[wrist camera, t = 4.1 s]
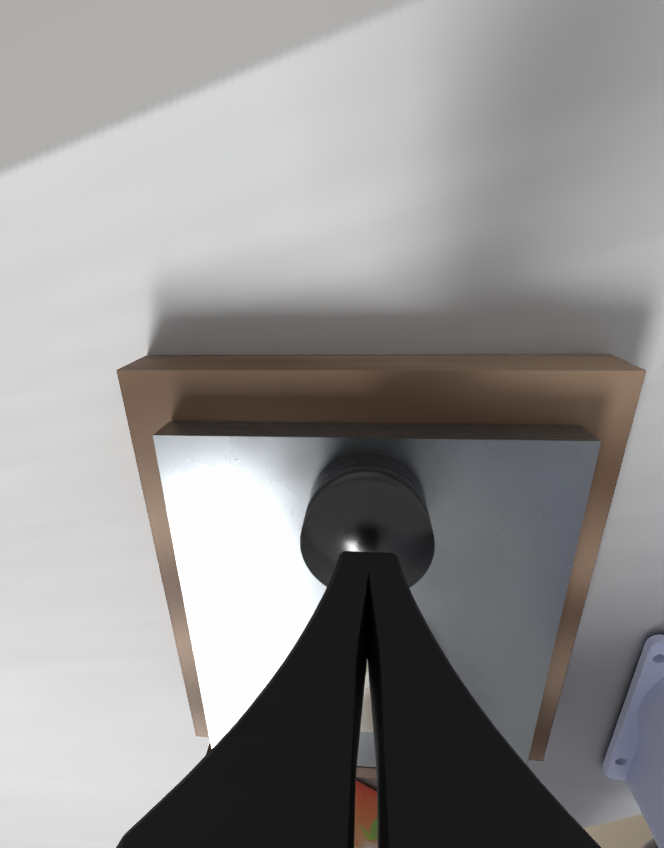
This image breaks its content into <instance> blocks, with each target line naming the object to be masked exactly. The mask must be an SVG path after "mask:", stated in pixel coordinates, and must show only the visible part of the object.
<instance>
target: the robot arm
mask: <svg viewBox="0 0 664 848" xmlns="http://www.w3.org/2000/svg"><path fill="white" fill-rule="evenodd" d="M367 660H368V673H369V685H370V697H371V709H372V722H373V734H374V746H375V758H376V776H377V841H378V848H601V847H600V846H599V845H598V844H597V843H596V842H595V841H594V840H593V839H592V837H591V836H590V835H589V834H588V833H587V832H586V831H585V830H584V829H583V828H582V827H581V826H580V825H579V824H578V823H577V822H576V821H575V819H574V818H573V817H572V816H571V815H570V814H569V813H568V812H567V811H566V810H565V808H564V807H563V806H562V805H561V804H560V803H559V802H558V801H557V800H556V798H555V797H554V796H553V795H552V794H551V793H550V792H549V791H548V790H547V788H546V787H545V786H544V785H543V784H542V783H541V782H540V781H539V780H538V778H537V777H536V776H535V775H534V773H533V772H532V771H531V770H530V769H529V767H528V766H527V765H526V764H525V763H524V761H523V760H522V759H521V758H520V757H519V755H518V754H517V753H516V752H515V750H514V749H513V748H512V747H511V746H510V744H509V743H508V742H507V741H506V740H505V738H504V737H503V736H502V735H501V734H500V732H499V731H498V730H497V729H496V727H495V726H494V725H493V723H492V722H491V721H490V719H489V718H488V717H487V715H486V714H485V713H484V711H483V710H482V709H481V707H480V706H479V705H478V703H477V702H476V701H475V699H474V698H473V696H472V695H471V693H470V692H469V691H468V689H467V688H466V686H465V685H464V683H463V682H462V681H461V679H460V678H459V676H458V674H457V673H456V671H455V670H454V668H453V667H452V665H451V664H450V662H449V661H448V659H447V657H446V656H445V654H444V652H443V651H442V649H441V647H440V646H439V644H438V642H437V641H436V639H435V637H434V636H433V634H432V632H431V630H430V628H429V627H428V625H427V623H426V621H425V619H424V617H423V615H422V613H421V611H420V609H419V608H418V606H417V604H416V602H415V599H414V597H413V595H412V593H411V591H410V589H409V586H408V584H407V582H406V579H405V577H404V574H403V572H402V569H401V566H400V563H399V559H398V556H396V555H395V554H394V553H384V552H357V551H343V552H342V553H341V554H339V558H338V561H337V564H336V567H335V570H334V572H333V575H332V577H331V580H330V582H329V584H328V586H327V588H326V590H325V592H324V594H323V596H322V598H321V600H320V602H319V604H318V606H317V608H316V610H315V612H314V613H313V615H312V617H311V619H310V621H309V622H308V624H307V625H306V627H305V629H304V630H303V632H302V634H301V635H300V637H299V639H298V640H297V642H296V643H295V645H294V647H293V648H292V650H291V651H290V653H289V654H288V656H287V657H286V659H285V660H284V662H283V663H282V664H281V666H280V667H279V669H278V670H277V671H276V673H275V674H274V675H273V677H272V678H271V680H270V681H269V682H268V684H267V685H266V686H265V688H264V689H263V690H262V691H261V693H260V694H259V695H258V696H257V698H256V699H255V700H254V701H253V703H252V704H251V705H250V706H249V708H248V709H247V710H246V711H245V713H244V714H243V715H242V716H241V717H240V718H239V720H238V721H237V722H236V723H235V724H234V725H233V727H232V728H231V729H230V730H229V731H228V732H227V733H226V734H225V735H224V736H223V738H222V739H221V740H220V741H219V742H218V743H217V744H216V745H215V746H214V747H213V748H212V749H211V750H210V751H209V753H208V754H207V755H206V756H205V757H204V758H203V759H202V760H201V761H200V762H199V763H198V764H197V765H196V766H195V768H194V769H193V770H192V771H191V772H190V773H189V774H188V775H187V776H186V777H185V778H184V779H183V780H182V781H181V782H180V783H179V784H178V785H177V786H175V787H174V788H173V789H172V790H171V791H170V792H169V793H168V794H167V795H166V796H165V797H164V798H163V799H162V800H161V801H160V802H159V803H157V804H156V805H155V806H154V807H153V808H152V809H151V810H150V811H149V812H148V813H147V814H146V815H145V816H144V817H143V818H142V819H141V820H139V821H138V822H137V823H136V824H135V825H134V826H133V827H132V828H131V829H130V830H129V831H128V832H127V833H126V834H125V835H124V836H123V837H122V839H121V841H120V842H119V844H118V846H117V847H116V848H354V833H355V791H356V772H357V758H358V748H359V737H360V727H361V717H362V707H363V697H364V687H365V677H366V666H367ZM602 769H603V771H604V774H605V775H606V777H607V778H609V779H612V780H622V781H627V783H628V785H629V787H630V789H631V791H632V793H633V796H634V798H635V800H636V802H637V804H638V806H639V808H640V810H641V812H642V814H643V816H644V818H645V820H646V823H647V825H648V826H649V829H650V831H651V833H652V835H653V837H654V839H655V841H656V843H657V845H658V847H659V848H664V635H654V636H651V637H649V638H648V639H647V641H646V642H645V645H644V648H643V651H642V653H641V656H640V659H639V662H638V665H637V668H636V671H635V673H634V676H633V679H632V682H631V685H630V688H629V690H628V693H627V696H626V699H625V702H624V705H623V708H622V710H621V713H620V716H619V719H618V722H617V725H616V728H615V730H614V733H613V736H612V739H611V742H610V745H609V748H608V750H607V753H606V756H605V759H604V762H603V765H602Z"/></svg>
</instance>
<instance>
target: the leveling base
mask: <svg viewBox="0 0 664 848" xmlns="http://www.w3.org/2000/svg"><path fill="white" fill-rule="evenodd" d="M645 373H646V370H644V369H641V368H639V367H637V366H635V365H632V364H630V363H628V362H626V361H623V360H621V359H619V358H617V357H614V356H612V355H186V356H145V357H143V358H141V359H138V360H136V361H134V362H132V363H130V364H128V365H126V366H124V367H122V368H120V369H118V370H117V374H118V379H119V384H120V388H121V393H122V397H123V402H124V407H125V411H126V416H127V420H128V425H129V430H130V434H131V439H132V443H133V448H134V453H135V457H136V462H137V466H138V471H139V476H140V480H141V485H142V489H143V494H144V499H145V503H146V508H147V513H148V517H149V522H150V526H151V531H152V536H153V540H154V545H155V549H156V554H157V559H158V563H159V568H160V572H161V577H162V582H163V586H164V591H165V595H166V600H167V605H168V609H169V614H170V618H171V623H172V628H173V632H174V637H175V641H176V646H177V651H178V655H179V660H180V664H181V669H182V674H183V678H184V683H185V687H186V692H187V697H188V701H189V706H190V710H191V715H192V720H193V724H194V729H195V733H196V736H200V737H209V733H208V727H207V722H206V717H205V711H204V706H203V701H202V695H201V690H200V685H199V679H198V674H197V669H196V663H195V658H194V653H193V647H192V642H191V637H190V631H189V626H188V621H187V615H186V610H185V605H184V599H183V594H182V589H181V583H180V578H179V573H178V567H177V562H176V557H175V551H174V546H173V541H172V536H171V530H170V525H169V520H168V514H167V509H166V504H165V498H164V493H163V488H162V482H161V477H160V472H159V466H158V461H157V456H156V450H155V445H154V440H153V435H154V434H155V433H156V432H157V431H158V430H160V429H161V428H162V427H163V426H164V425H166V424H167V423H168V422H169V421H214V422H310V423H405V424H500V425H582V426H583V427H584V428H585V429H587V430H588V431H589V432H590V433H592V434H593V435H594V436H595V437H597V438H598V439H599V440H600V441H601V444H600V449H599V453H598V457H597V462H596V466H595V470H594V475H593V479H592V483H591V488H590V492H589V497H588V501H587V505H586V510H585V514H584V518H583V523H582V527H581V531H580V536H579V540H578V544H577V549H576V553H575V557H574V562H573V566H572V571H571V575H570V579H569V584H568V588H567V592H566V597H565V601H564V605H563V610H562V614H561V618H560V623H559V627H558V631H557V636H556V640H555V645H554V649H553V653H552V658H551V662H550V666H549V671H548V675H547V679H546V684H545V688H544V692H543V697H542V701H541V706H540V710H539V714H538V719H537V723H536V727H535V732H534V736H533V740H532V745H531V749H530V753H529V758H528V760H537V761H543V758H544V755H545V751H546V747H547V743H548V739H549V736H550V732H551V728H552V724H553V721H554V717H555V713H556V709H557V705H558V702H559V698H560V694H561V690H562V686H563V683H564V679H565V675H566V671H567V668H568V664H569V660H570V656H571V652H572V649H573V645H574V641H575V637H576V634H577V630H578V626H579V622H580V618H581V615H582V611H583V607H584V603H585V599H586V596H587V592H588V588H589V584H590V581H591V577H592V573H593V569H594V565H595V562H596V558H597V554H598V550H599V547H600V543H601V539H602V535H603V531H604V528H605V524H606V520H607V516H608V512H609V509H610V505H611V501H612V497H613V494H614V490H615V486H616V482H617V478H618V475H619V471H620V467H621V463H622V460H623V456H624V452H625V448H626V444H627V441H628V437H629V433H630V429H631V425H632V422H633V418H634V414H635V410H636V407H637V403H638V399H639V395H640V391H641V388H642V384H643V380H644V376H645ZM210 750H211V743H210V744H209V747H208V750H207V754H208V753H209V751H210ZM207 754H206V755H207ZM356 777H361V778H374V779H377V776H376V767H364V766H357V772H356Z"/></svg>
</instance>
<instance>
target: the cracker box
mask: <svg viewBox="0 0 664 848" xmlns="http://www.w3.org/2000/svg"><path fill="white" fill-rule="evenodd" d="M354 848H378V841H377V791H375V790H374V789H372V788H370V787H368V786H366V785H364V784H362V783H360V782H359V781H357V780H356V791H355V833H354Z"/></svg>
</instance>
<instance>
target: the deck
mask: <svg viewBox="0 0 664 848" xmlns="http://www.w3.org/2000/svg"><path fill="white" fill-rule="evenodd" d="M153 440H154V445H155V450H156V456H157V461H158V466H159V472H160V477H161V482H162V488H163V493H164V498H165V504H166V509H167V514H168V520H169V525H170V530H171V536H172V541H173V546H174V551H175V557H176V562H177V567H178V573H179V578H180V583H181V589H182V594H183V599H184V605H185V610H186V615H187V621H188V626H189V631H190V637H191V642H192V647H193V653H194V658H195V663H196V669H197V674H198V679H199V685H200V690H201V695H202V701H203V706H204V711H205V717H206V722H207V727H208V733H209V738H210V743H211V749H212V748H213V747H214V746H215V745H216V744H217V743H218V742H219V741H220V740H221V739H222V738H223V736H224V735H225V734H226V733H227V732H228V731H229V730H230V729H231V728H232V727H233V725H234V724H235V723H236V722H237V721H238V720H239V718H240V717H241V716H242V715H243V714H244V713H245V711H246V710H247V709H248V708H249V706H250V705H251V704H252V703H253V701H254V700H255V699H256V698H257V696H258V695H259V694H260V693H261V691H262V690H263V689H264V688H265V686H266V685H267V684H268V682H269V681H270V680H271V678H272V677H273V675H274V674H275V673H276V671H277V670H278V669H279V667H280V666H281V664H282V663H283V662H284V660H285V659H286V657H287V656H288V654H289V653H290V651H291V650H292V648H293V647H294V645H295V643H296V642H297V640H298V639H299V637H300V635H301V634H302V632H303V630H304V629H305V627H306V625H307V624H308V622H309V621H310V619H311V617H312V615H313V613H314V612H315V610H316V608H317V606H318V604H319V602H320V600H321V598H322V596H323V594H324V592H325V590H326V588H327V586H328V584H329V582H330V580H331V577H332V575H333V572H334V570H335V567H336V564H337V561H338V558H339V554H341V553H342V552H343V551H357V552H384V553H394V554H395V555H396V556H398V559H399V563H400V566H401V569H402V572H403V574H404V577H405V579H406V582H407V584H408V586H409V589H410V591H411V593H412V595H413V597H414V599H415V602H416V604H417V606H418V608H419V609H420V611H421V613H422V615H423V617H424V619H425V621H426V623H427V625H428V627H429V628H430V630H431V632H432V634H433V636H434V637H435V639H436V641H437V642H438V644H439V646H440V647H441V649H442V651H443V652H444V654H445V656H446V657H447V659H448V661H449V662H450V664H451V665H452V667H453V668H454V670H455V671H456V673H457V674H458V676H459V678H460V679H461V681H462V682H463V683H464V685H465V686H466V688H467V689H468V691H469V692H470V693H471V695H472V696H473V698H474V699H475V701H476V702H477V703H478V705H479V706H480V707H481V709H482V710H483V711H484V713H485V714H486V715H487V717H488V718H489V719H490V721H491V722H492V723H493V725H494V726H495V727H496V729H497V730H498V731H499V732H500V734H501V735H502V736H503V737H504V738H505V740H506V741H507V742H508V743H509V744H510V746H511V747H512V748H513V749H514V750H515V752H516V753H517V754H518V755H519V757H520V758H521V759H522V760H523V761H524V763H525V764H526V765H527V762H528V758H529V753H530V749H531V745H532V740H533V736H534V732H535V727H536V723H537V719H538V714H539V710H540V706H541V701H542V697H543V692H544V688H545V684H546V679H547V675H548V671H549V666H550V662H551V658H552V653H553V649H554V645H555V640H556V636H557V631H558V627H559V623H560V618H561V614H562V610H563V605H564V601H565V597H566V592H567V588H568V584H569V579H570V575H571V571H572V566H573V562H574V557H575V553H576V549H577V544H578V540H579V536H580V531H581V527H582V523H583V518H584V514H585V510H586V505H587V501H588V497H589V492H590V488H591V483H592V479H593V475H594V470H595V466H596V462H597V457H598V453H599V449H600V444H601V441H600V440H599V439H598V438H597V437H595V436H594V435H593V434H592V433H590V432H589V431H588V430H587V429H585V428H584V427H583V426H582V425H500V424H405V423H310V422H214V421H169V422H168V423H167V424H166V425H164V426H163V427H162V428H161V429H160V430H158V431H157V432H156V433H155V434H154V435H153ZM357 766H364V767H376V758H375V746H374V734H373V722H372V709H371V697H370V685H369V673H368V660H367V666H366V677H365V687H364V697H363V707H362V717H361V727H360V737H359V748H358V758H357Z"/></svg>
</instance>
